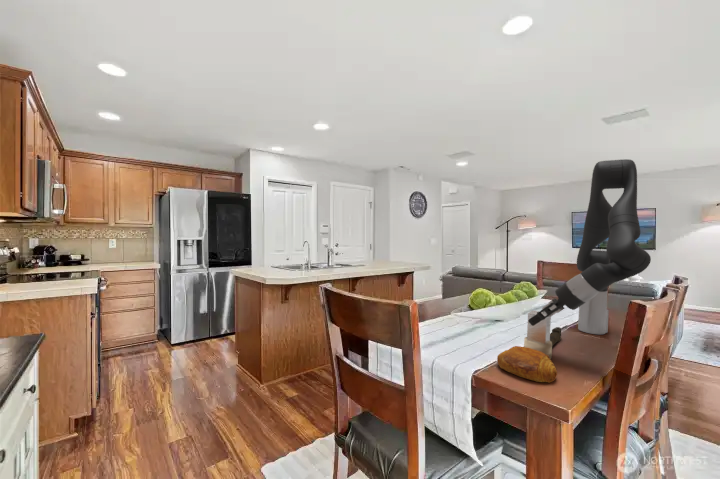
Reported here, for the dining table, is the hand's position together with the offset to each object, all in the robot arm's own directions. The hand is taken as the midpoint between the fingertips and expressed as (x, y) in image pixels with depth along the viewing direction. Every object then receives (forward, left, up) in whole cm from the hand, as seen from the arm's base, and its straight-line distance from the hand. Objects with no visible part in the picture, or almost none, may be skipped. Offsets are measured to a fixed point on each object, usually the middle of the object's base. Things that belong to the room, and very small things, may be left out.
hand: (534, 320), depth 108 cm
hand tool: (-14, -9, -12) cm, 20 cm away
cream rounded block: (-1, +1, -11) cm, 11 cm away
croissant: (+11, +12, -12) cm, 20 cm away
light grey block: (-1, +1, -6) cm, 6 cm away
